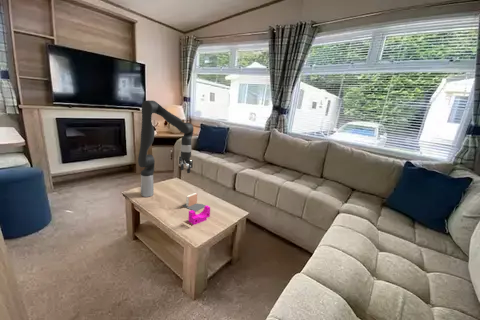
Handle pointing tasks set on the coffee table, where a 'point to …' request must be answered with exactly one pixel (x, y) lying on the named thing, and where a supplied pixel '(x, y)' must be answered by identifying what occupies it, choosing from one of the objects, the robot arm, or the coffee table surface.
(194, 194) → the tile
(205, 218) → the magenta pipe clamp half
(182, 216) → the coffee table surface
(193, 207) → the mat
